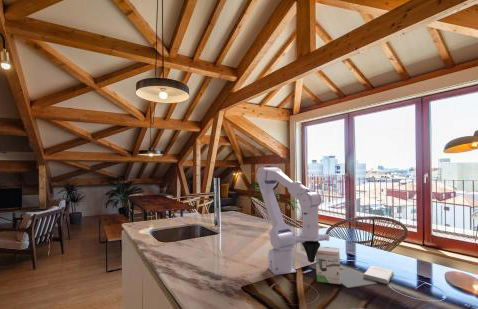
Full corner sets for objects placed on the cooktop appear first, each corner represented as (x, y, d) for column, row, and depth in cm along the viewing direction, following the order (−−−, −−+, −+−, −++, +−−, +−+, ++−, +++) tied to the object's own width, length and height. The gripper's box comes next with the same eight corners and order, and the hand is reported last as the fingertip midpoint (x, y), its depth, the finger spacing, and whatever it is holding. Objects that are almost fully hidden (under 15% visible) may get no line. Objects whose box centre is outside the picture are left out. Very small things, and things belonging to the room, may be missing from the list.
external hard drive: (363, 278, 100) (371, 268, 109) (387, 284, 94) (393, 274, 104) (363, 273, 100) (371, 264, 109) (387, 279, 94) (393, 269, 104)
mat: (347, 288, 92) (347, 287, 92) (324, 272, 106) (324, 271, 106) (377, 283, 96) (377, 283, 96) (351, 269, 109) (351, 268, 109)
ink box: (316, 282, 97) (314, 250, 98) (317, 276, 102) (315, 245, 102) (341, 284, 94) (339, 251, 95) (340, 278, 99) (339, 247, 99)
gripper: (297, 228, 91) (298, 267, 91) (333, 225, 95) (334, 263, 95) (288, 223, 98) (289, 260, 98) (322, 221, 102) (323, 256, 101)
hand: (311, 261), depth 97 cm, fingers closed
